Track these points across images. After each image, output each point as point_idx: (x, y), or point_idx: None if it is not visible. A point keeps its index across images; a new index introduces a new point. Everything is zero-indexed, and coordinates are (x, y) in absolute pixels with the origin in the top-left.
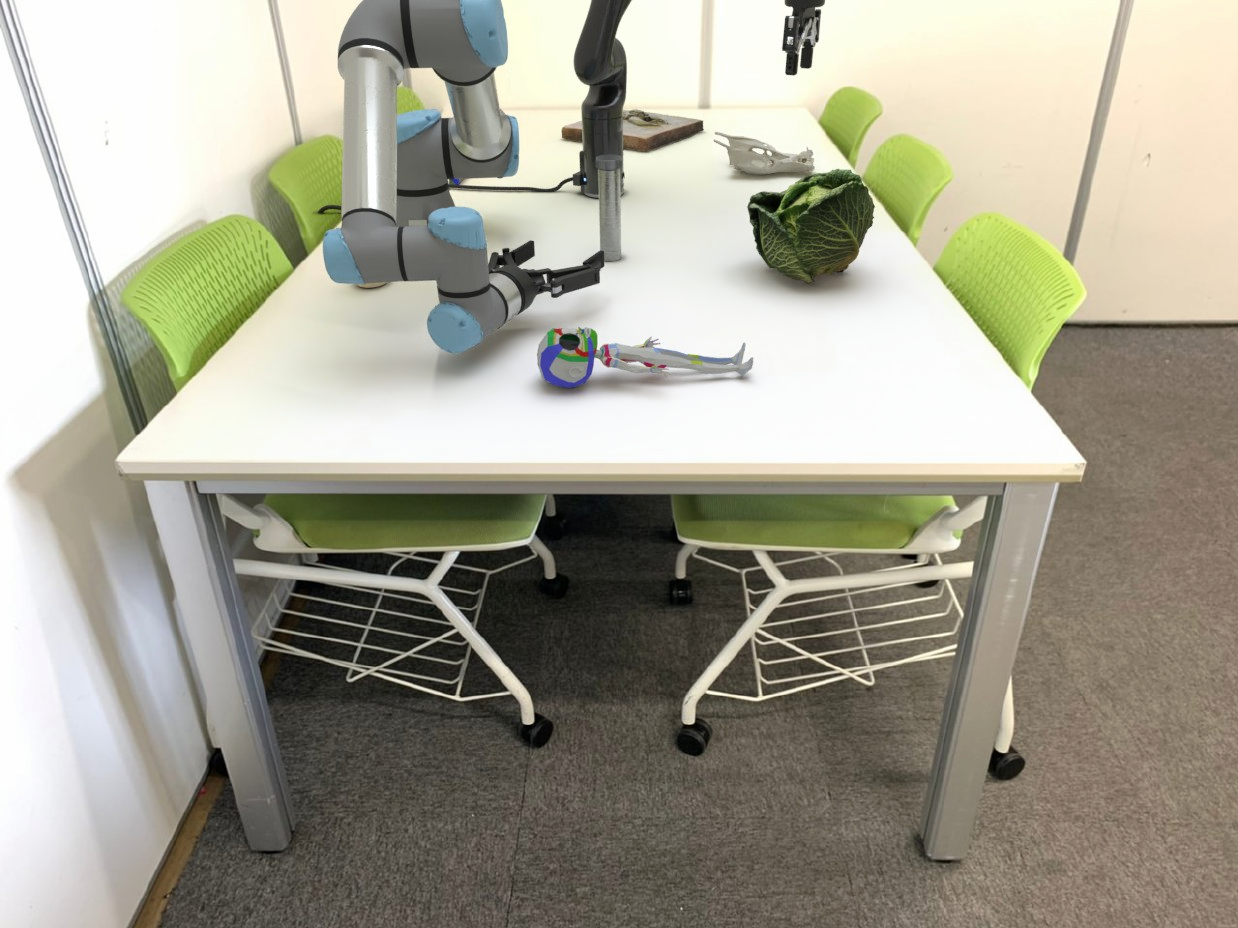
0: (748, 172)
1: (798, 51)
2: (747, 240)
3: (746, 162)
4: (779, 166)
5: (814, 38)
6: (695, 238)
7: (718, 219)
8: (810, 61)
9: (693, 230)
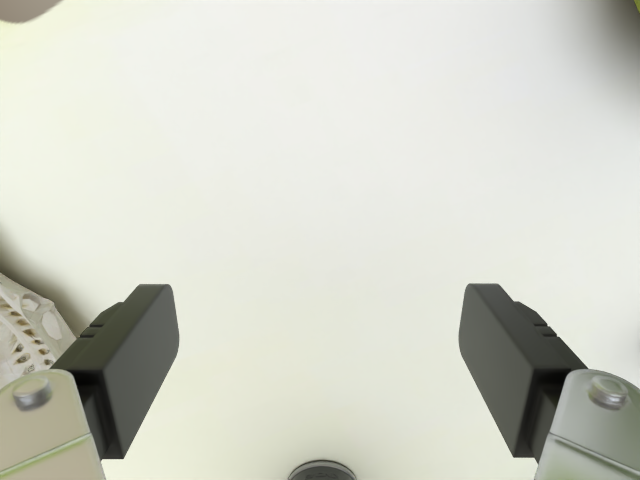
0: (59, 333)
1: (613, 384)
2: (497, 166)
3: (68, 347)
4: (6, 284)
5: (88, 435)
6: (516, 260)
7: (384, 268)
8: (151, 309)
9: (469, 282)
